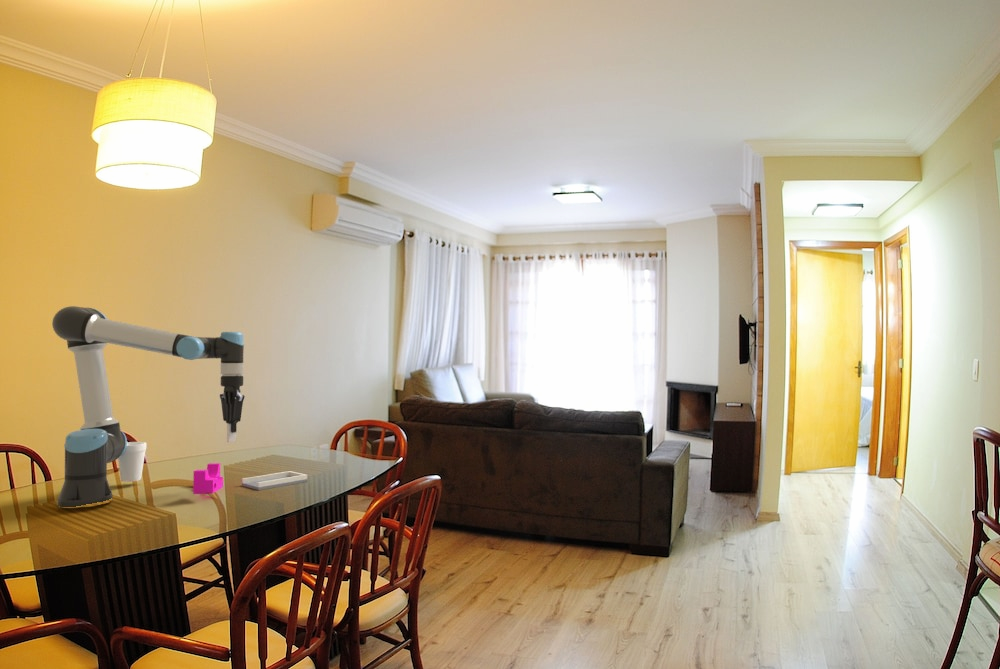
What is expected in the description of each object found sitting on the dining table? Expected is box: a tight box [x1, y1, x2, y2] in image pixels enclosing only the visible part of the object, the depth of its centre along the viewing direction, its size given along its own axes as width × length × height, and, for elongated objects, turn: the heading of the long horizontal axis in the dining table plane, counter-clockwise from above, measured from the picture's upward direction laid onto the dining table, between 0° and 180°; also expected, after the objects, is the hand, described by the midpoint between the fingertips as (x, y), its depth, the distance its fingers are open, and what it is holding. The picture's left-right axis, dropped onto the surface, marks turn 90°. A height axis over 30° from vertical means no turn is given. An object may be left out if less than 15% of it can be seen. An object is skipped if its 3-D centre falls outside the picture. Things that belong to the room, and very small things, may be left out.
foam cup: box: [117, 441, 147, 483], centre depth 244 cm, size 10×9×13 cm
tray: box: [241, 470, 308, 491], centre depth 238 cm, size 19×11×2 cm, turn 140°
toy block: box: [192, 462, 224, 495], centre depth 230 cm, size 15×6×8 cm, turn 5°
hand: (231, 441), depth 239 cm, fingers closed
